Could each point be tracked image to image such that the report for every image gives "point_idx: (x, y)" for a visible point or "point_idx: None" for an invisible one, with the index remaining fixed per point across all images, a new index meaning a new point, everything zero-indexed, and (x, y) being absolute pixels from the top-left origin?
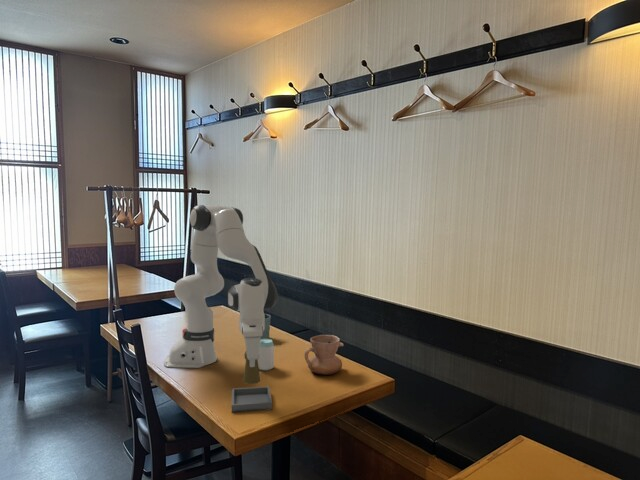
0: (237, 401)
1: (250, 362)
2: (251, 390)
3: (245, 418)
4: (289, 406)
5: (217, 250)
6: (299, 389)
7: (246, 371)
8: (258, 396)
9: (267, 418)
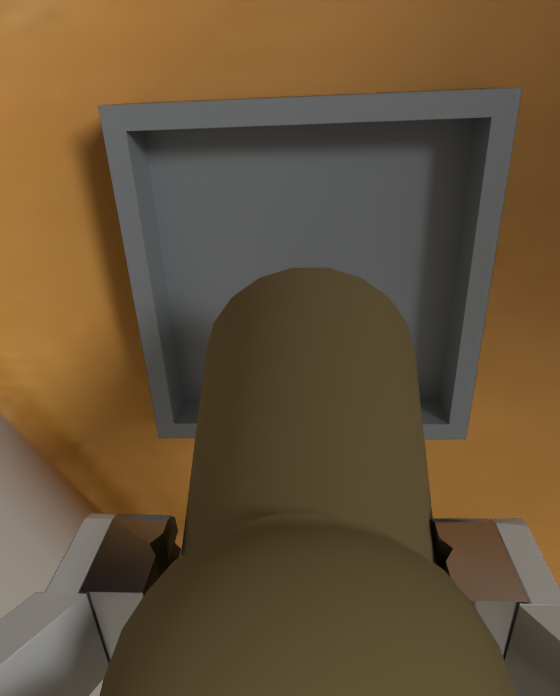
0: (304, 155)
1: (54, 596)
2: (459, 291)
3: (31, 227)
4: None
5: None
6: None
7: (228, 383)
8: None
9: (48, 373)
